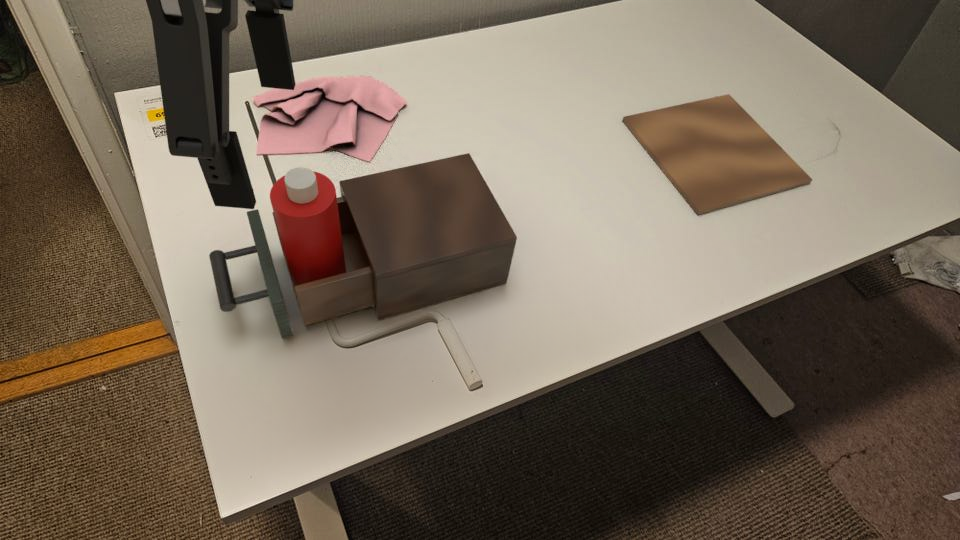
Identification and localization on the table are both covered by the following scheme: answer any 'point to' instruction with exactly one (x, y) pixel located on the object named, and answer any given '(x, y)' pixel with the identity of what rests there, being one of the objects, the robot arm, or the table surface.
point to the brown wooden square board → (715, 153)
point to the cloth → (328, 116)
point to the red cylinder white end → (308, 225)
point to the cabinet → (429, 233)
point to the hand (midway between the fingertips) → (259, 140)
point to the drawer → (312, 297)
